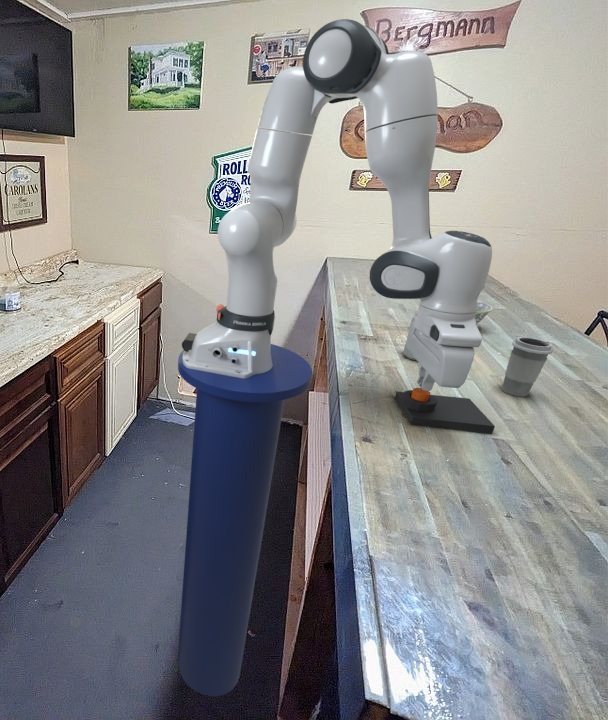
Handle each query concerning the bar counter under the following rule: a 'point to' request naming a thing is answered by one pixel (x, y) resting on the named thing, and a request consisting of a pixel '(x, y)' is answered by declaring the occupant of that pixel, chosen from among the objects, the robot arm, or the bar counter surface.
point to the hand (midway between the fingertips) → (423, 387)
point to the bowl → (482, 311)
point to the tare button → (420, 394)
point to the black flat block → (444, 413)
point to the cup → (525, 364)
